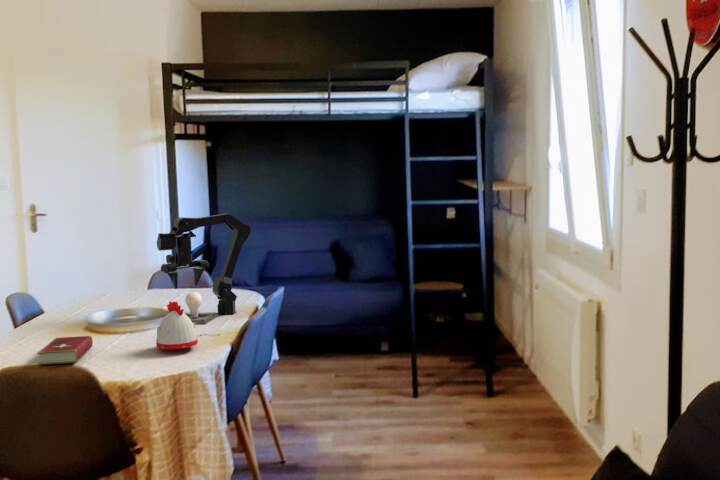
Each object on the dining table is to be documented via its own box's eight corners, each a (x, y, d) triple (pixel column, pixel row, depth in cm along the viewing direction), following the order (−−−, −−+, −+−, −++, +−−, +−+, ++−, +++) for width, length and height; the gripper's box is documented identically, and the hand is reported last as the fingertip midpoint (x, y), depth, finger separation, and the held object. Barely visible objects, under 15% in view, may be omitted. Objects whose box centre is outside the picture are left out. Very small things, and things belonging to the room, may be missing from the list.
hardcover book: (92, 346, 255) (92, 334, 255) (77, 362, 234) (76, 349, 234) (57, 348, 254) (56, 336, 253) (38, 364, 233) (37, 351, 232)
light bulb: (185, 321, 289) (183, 293, 288) (187, 317, 296) (186, 290, 295) (202, 320, 290) (200, 292, 289) (204, 316, 296) (202, 290, 295)
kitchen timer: (181, 337, 263) (179, 296, 262) (205, 342, 255) (203, 300, 253) (148, 345, 253) (146, 303, 251) (172, 351, 244) (170, 307, 243)
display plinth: (217, 316, 299) (217, 313, 299) (205, 324, 285) (205, 320, 285) (184, 316, 301) (184, 313, 301) (171, 324, 287) (170, 320, 287)
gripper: (193, 245, 306) (195, 282, 308) (153, 249, 293) (155, 288, 295) (208, 247, 298) (210, 284, 300) (167, 251, 285) (169, 290, 287)
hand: (186, 287), depth 295 cm, fingers open, 9 cm apart
